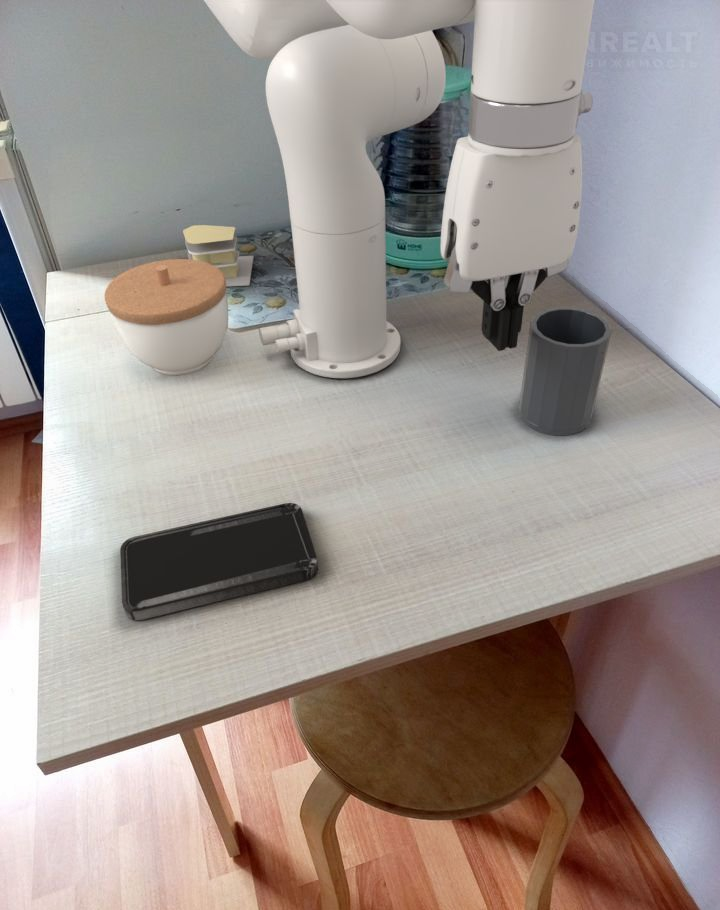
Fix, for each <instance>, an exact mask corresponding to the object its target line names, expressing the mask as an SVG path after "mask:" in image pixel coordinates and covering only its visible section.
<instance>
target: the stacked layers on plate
mask: <svg viewBox="0 0 720 910" xmlns="http://www.w3.org/2000/svg"><path fill="white" fill-rule="evenodd" d="M235 230H236V227H235V226H225V225H209V224H208V225H207V224H199V225H198V224H196V225H195V224H194V225H191V226H189V227H187V228H185V229H183V230H182V233H183V235H184V238H185V239H184V244H185V246H186V249H187V252H188V253H187V257H188V258H187V259H191V260H198V261H203V262H206V263H209V264H211V265H213V266H215V267H217V268H218V269H219V270H220V271H221V272H222V273H223V274H224V277H225V281H226V288H227V287H244V286H250V284H251V276H252V269H253V263H254V255H240V250H237V249H236V245H237V241H238V237H237V236H235Z"/></svg>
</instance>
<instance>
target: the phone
mask: <svg viewBox="0 0 720 910" xmlns="http://www.w3.org/2000/svg"><path fill="white" fill-rule="evenodd" d="M119 553H120V555H119V557H120V584H121V585H120V586H121V604H122V607H123V609H124V612H125V615H126V616H127V617H128V618H129V619H130V620H133V621H143V620H146V619H150V618H154V617H159V616H163V615H168V614H171V613H175V612H179V611H180V612H181V611H184V610H188V609H192V608H195V607H196V608H197V607H201V606H204V605H208V604H209V605H210V604H213V603H217V602H221V601H226V600H229V599H233V598H234V599H235V598H238V597H241V596H246V595H250V594H254V593H258V592H262V591H266V590H271V589H275V588H279V587H283V586H287V585H291V584H295V583H298V582H304V581H307V580H310V579H312V578H313V577H315V575H316V574H317V573H318V571H319V570H318V569H319V567H318V558H317V554H316V550H315V547H314V544H313V542H312V538H311V534H310V531H309V528H308V525H307V521H306V518H305V515H304V512H303V509H302V508H301V506H300V505H299V504H297V503H294V502H286V503H280V504H276V505H272V506H271V505H270V506H267V507H263V508H258V509H254V510H250V511H245V512H240V513H235V514H231V515H226V516H222V517H217V518H213V519H208V520H204V521H199V522H195V523H190V524H185V525H181V526H176V527H172V528H167V529H162V530H158V531H153V532H149V533H146V534H145V533H144V534H140V535H136V536H132V537H129V538H127V539H126V540H125V541H123V542H122V543H121V545H120V550H119Z"/></svg>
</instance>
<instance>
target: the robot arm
mask: <svg viewBox="0 0 720 910" xmlns="http://www.w3.org/2000/svg"><path fill="white" fill-rule="evenodd" d="M203 2H204V3H205V5H206V6H207V7H208V8H209V10H210V12H212V14H213V15H214V17H215V18H216V19H217V21H218V23H219V24H220V25H221V26H222V28H223V29H224V30H225V32H226V33H227V34H228V36H229V37H230V38H231V39H232V41H234V43H235V44H236V45H237V46H238V47H239V49H241V50H242V52H244V53H245V54H246V55H248V56H249V57H252V58H254V59H258V60H271V62H270V64H269V66H268V70H267V73H266V77H265V98H266V105H267V108H268V113H269V116H270V119H271V123H272V127H273V130H274V134H275V137H276V141H277V144H278V147H279V152H280V157H281V162H282V166H283V170H284V177H285V183H286V184H285V185H286V191H287V193H286V194H287V200H288V201H287V202H288V209H289V218H290V226H291V228H290V229H291V236H292V247H293V257H294V267H295V277H296V285H297V286H296V287H297V295H298V297H297V298H298V306H299V308H297V309H293V310H292V312H293V319H289V320H286V321H285V323H284V324H280V325H279V324H278V325H270V326H266V327H264V326H263V327H259V328H258V334H259V338H260V343H261V345H262V346H268V345H273V344H275V348H276V352H277V353H283V352H288V351H290V356H291V359H292V360H293V362H294V363H295V364H296V366H298V367H299V368H301V369H303V370H304V371H305V372H308V373H311V374H313V375H315V376H320V377H323V378H332V379H352V378H361V377H365V376H369V375H372V374H375V373H378V372H380V371H382V370H383V369H386V368H387V367H388V366H390V365H391V364H392V363H393V362H395V360H396V359H397V358H398V356H399V354H400V352H401V342H402V341H401V335H400V332H399V331H398V329H397V328H396V327H395V325H393V324H392V323H390V322H389V321H387V256H386V255H387V254H386V253H387V252H386V251H387V250H386V249H387V247H386V245H387V243H386V240H387V239H386V195H385V188H384V184H383V181H382V179H381V176H380V175H379V173H378V172H379V171H378V170H377V169H376V168H375V165H374V164H373V163H372V161H371V159H370V157H369V155H368V153H367V147H366V145H367V144H368V143H369V142H371V141H374V140H376V139H378V138H380V137H384V136H386V135H389V134H392V133H395V132H399V131H401V130H404V129H407V128H410V127H413V126H414V125H415V126H416V125H417V124H420V123H422V122H423V121H424V120H426V119H428V117H430V116H432V114H433V113H434V112H435V111H436V109H437V108H439V105H440V103H441V102H442V99H443V97H444V93H445V89H446V84H447V83H446V81H447V78H446V77H447V75H446V73H447V72H446V71H447V70H446V63H445V59H444V55H443V51H442V49H441V47H440V46H441V45H440V44H439V41H438V39H437V38H436V36H435V34H434V30H439V29H444V28H450V27H454V26H460V25H464V24H468V23H473V22H474V25H473V28H474V29H473V39H472V40H473V41H472V58H471V59H472V61H471V77H470V94H469V112H468V113H469V115H468V130H467V131H468V134H467V136H463V137H459V138H458V139H457V140H456V144H455V147H454V151H453V154H452V158H451V163H450V168H449V172H448V177H447V183H446V188H445V193H444V202H443V209H442V210H443V211H442V219H441V220H442V221H441V230H440V244H439V245H440V255H441V258H442V260H444V261H446V262H448V264H447V266H446V267H447V268H446V271H445V274H444V278H443V285H444V286H445V287H446V288H447V289H448V290H449V291H450V292H451V293H453V294H454V293H455V294H470V293H471V294H475V295H476V296H477V297H478V298H480V299H481V300H482V301H483V302H482V303H483V305H482V317H481V333H482V335H483V336H484V338H485V339H486V340H488V341H489V342H490V343H491V345H492V346H493V347H494V349H496V350H497V351H498V352H501V351H505V350H506V349H507V348H508V349H516V348H517V347H518V340H519V339H518V338H519V334H520V333H521V331H522V324H523V317H524V309H525V308H524V307H525V306H527V305H528V304H529V303H530V302H531V301H532V298H533V294H534V292H535V291H536V290H537V289H538V288H539V287H540V286H541V285H542V283H543V282H544V281H545V280H546V279H547V278H552V277H553V276H555V275H558V274H560V273H563V272H564V271H566V270H567V269H568V268H569V259H570V258H571V257H572V256H573V253H574V249H575V247H576V246H575V245H576V243H577V237H578V232H579V224H580V215H581V206H582V195H583V151H582V142H581V141H582V139H581V137H580V135H579V134H578V133H576V129H577V128H578V122H579V117H580V116H581V115H582V114H587V113H590V111H591V110H592V108H593V104H594V100H593V96H592V94H591V92H583V89H582V86H583V80H584V73H585V66H586V58H587V53H588V48H589V47H588V46H589V40H590V33H591V25H592V19H593V12H594V7H595V6H594V5H595V0H203Z"/></svg>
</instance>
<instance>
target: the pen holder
mask: <svg viewBox="0 0 720 910" xmlns="http://www.w3.org/2000/svg"><path fill="white" fill-rule="evenodd" d="M528 331H529V332H528V337H527V338H528V339H527V346H526V354H525V360H524V367H523V372H522V373H523V374H522V381H521V382H522V383H521V389H520V396H519V402H518V406H519V407H518V414H519V417H520V418H521V420H522V422H523V423H524V424H525V425H526V426H528V427H529V428H531V429H532V430H535V431H536V432H539V433H540V434H541V433H542V434H545V435H549V436H557V437H563V436H571V435H575V434H578V433H580V432H583V431H584V430H585V429H587V427H588V426H589V425H590V424H591V421H592V418H593V417H592V416H593V414H594V410H595V405H596V402H597V397H598V392H599V387H600V385H601V384H600V383H601V379H602V374H603V371H604V366H605V362H606V357H607V354H608V349H609V344H610V339H611V335H612V328H611V325H610V323H609V322H608V321H607V320H606V319H605V318H604V317H603V316H602V315H600V314H598V313H596V312H593V311H591V310H589V309H584V308H579V307H574V306H556V307H551V308H547V309H543V310H541V311H539V312H538V313H536V314H535V315H533V318H532V319H531V320H530V324H529V330H528Z"/></svg>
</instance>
